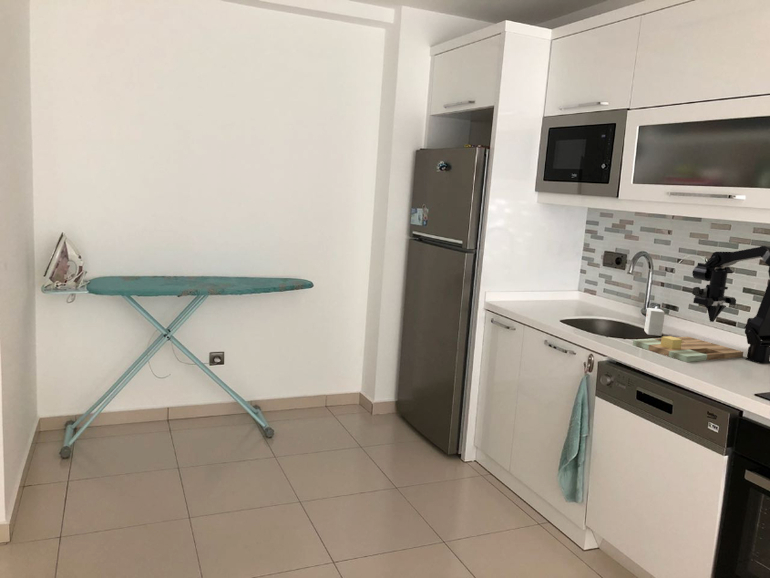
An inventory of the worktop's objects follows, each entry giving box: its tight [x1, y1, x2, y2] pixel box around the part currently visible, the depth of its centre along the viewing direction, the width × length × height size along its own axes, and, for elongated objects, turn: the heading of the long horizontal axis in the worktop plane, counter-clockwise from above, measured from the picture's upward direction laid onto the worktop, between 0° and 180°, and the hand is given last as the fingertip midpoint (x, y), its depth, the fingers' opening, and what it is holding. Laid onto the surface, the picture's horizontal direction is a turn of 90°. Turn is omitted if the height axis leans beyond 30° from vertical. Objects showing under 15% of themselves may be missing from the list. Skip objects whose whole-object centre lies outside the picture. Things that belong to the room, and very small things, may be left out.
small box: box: [644, 307, 666, 337], centre depth 268 cm, size 8×6×10 cm
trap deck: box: [632, 336, 744, 363], centre depth 241 cm, size 24×32×2 cm
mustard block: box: [660, 335, 682, 349], centre depth 236 cm, size 5×5×4 cm
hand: (711, 321), depth 251 cm, fingers closed
